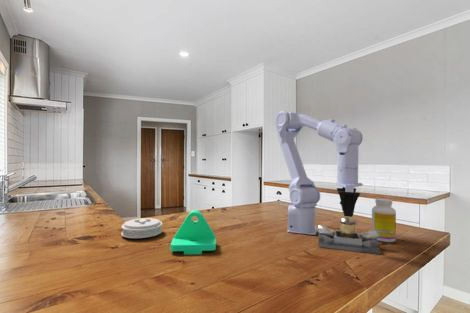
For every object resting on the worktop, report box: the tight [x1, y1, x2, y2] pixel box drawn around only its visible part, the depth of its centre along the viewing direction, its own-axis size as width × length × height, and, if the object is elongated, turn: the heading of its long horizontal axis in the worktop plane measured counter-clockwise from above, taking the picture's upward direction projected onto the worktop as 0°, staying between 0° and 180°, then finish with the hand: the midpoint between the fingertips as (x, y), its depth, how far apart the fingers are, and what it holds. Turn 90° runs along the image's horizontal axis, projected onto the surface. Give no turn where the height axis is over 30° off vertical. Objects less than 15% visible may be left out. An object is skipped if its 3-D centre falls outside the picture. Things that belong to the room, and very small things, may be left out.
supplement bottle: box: [371, 198, 397, 243], centre depth 81 cm, size 7×7×13 cm
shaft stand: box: [316, 224, 382, 255], centre depth 76 cm, size 17×10×5 cm, turn 70°
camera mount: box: [170, 209, 217, 255], centre depth 71 cm, size 12×8×10 cm, turn 95°
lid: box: [120, 217, 163, 239], centre depth 84 cm, size 13×13×5 cm
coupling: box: [339, 216, 356, 238], centre depth 76 cm, size 4×4×7 cm
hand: (347, 213), depth 76 cm, fingers open, 7 cm apart
